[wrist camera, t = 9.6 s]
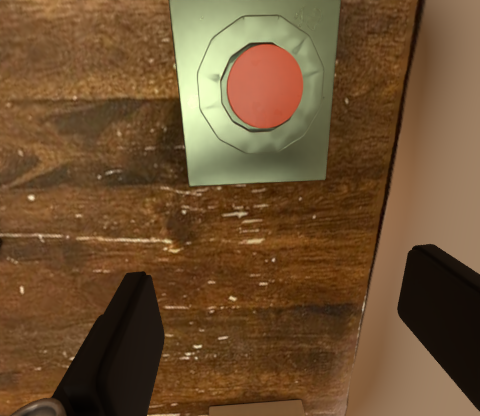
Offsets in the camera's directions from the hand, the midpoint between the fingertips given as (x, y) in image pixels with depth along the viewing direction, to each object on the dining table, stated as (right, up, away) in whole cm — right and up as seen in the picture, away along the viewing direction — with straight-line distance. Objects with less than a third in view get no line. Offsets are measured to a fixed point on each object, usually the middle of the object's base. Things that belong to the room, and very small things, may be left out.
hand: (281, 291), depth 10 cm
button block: (-1, +11, +8) cm, 13 cm away
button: (0, +9, +4) cm, 10 cm away
